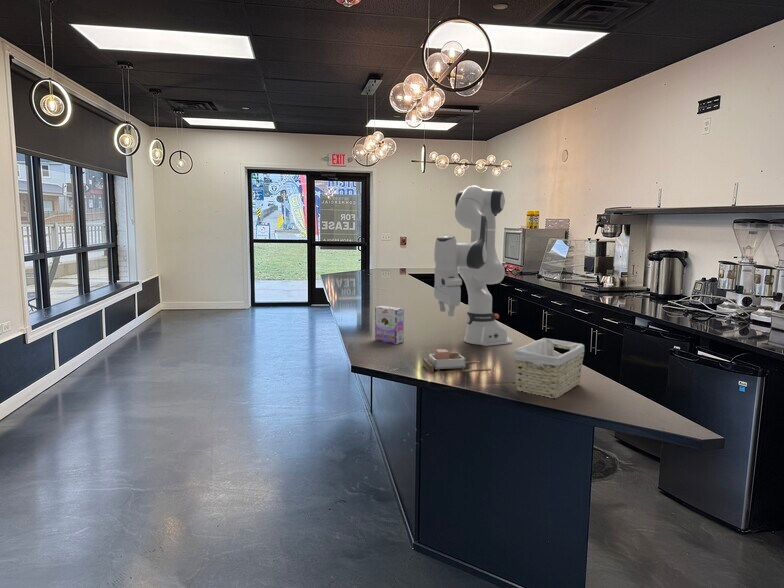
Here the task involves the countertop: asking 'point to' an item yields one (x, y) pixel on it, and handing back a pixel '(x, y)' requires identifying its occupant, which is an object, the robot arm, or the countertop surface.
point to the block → (442, 354)
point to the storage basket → (548, 367)
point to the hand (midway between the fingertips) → (446, 313)
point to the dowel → (453, 355)
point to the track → (431, 369)
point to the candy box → (389, 324)
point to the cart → (447, 362)
